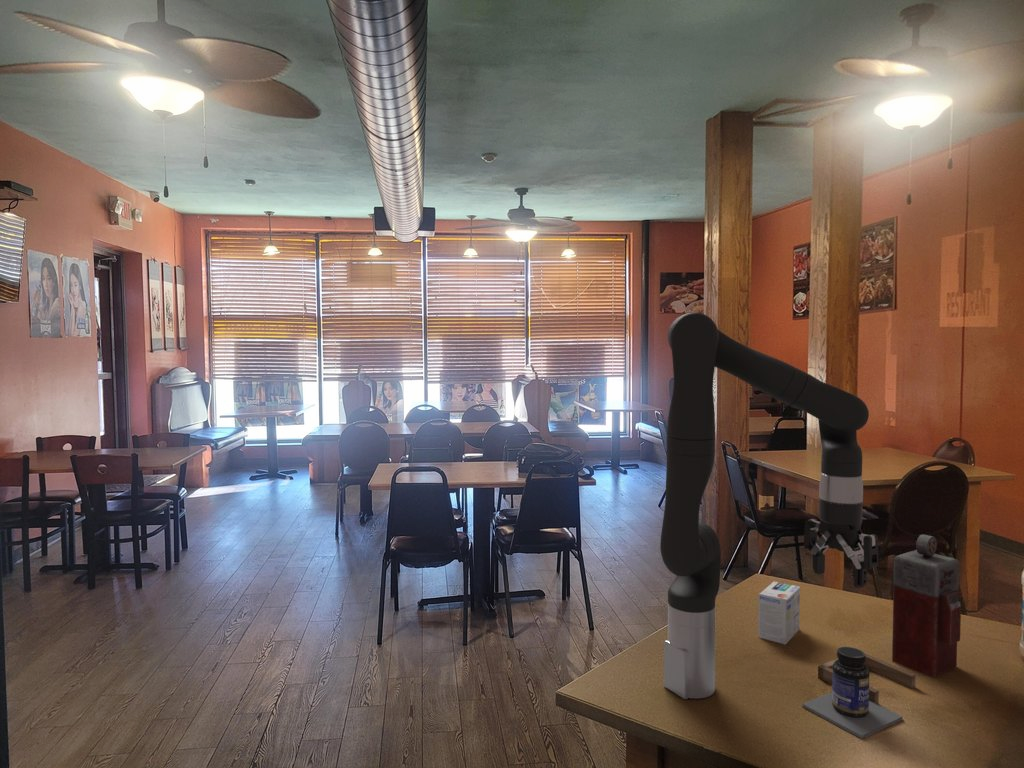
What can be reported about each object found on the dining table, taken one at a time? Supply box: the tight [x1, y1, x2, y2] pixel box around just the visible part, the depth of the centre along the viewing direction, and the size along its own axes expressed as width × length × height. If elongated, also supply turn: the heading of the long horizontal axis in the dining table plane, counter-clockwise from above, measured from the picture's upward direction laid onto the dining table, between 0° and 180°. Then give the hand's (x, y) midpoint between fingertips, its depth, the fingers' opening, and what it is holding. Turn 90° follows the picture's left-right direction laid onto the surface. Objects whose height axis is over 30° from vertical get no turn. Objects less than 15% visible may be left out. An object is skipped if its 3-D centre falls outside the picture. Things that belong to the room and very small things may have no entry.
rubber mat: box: [802, 691, 903, 740], centre depth 124 cm, size 12×12×1 cm
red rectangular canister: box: [891, 534, 962, 679], centre depth 141 cm, size 9×11×28 cm
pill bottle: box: [831, 646, 870, 718], centre depth 124 cm, size 6×6×11 cm
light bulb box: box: [757, 581, 801, 645], centre depth 158 cm, size 11×7×11 cm, turn 141°
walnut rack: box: [817, 653, 917, 705], centre depth 135 cm, size 13×12×2 cm
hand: (838, 580), depth 128 cm, fingers open, 8 cm apart
